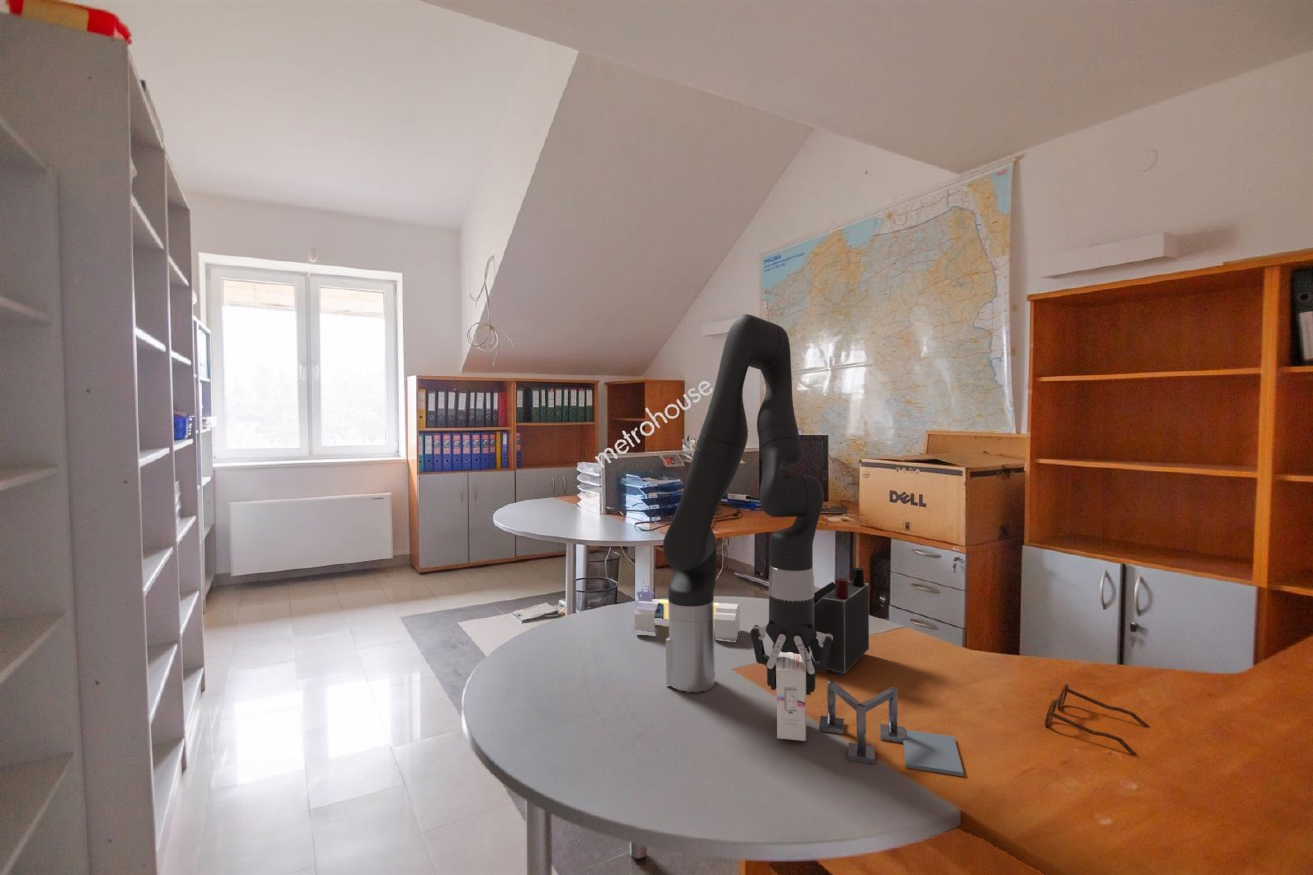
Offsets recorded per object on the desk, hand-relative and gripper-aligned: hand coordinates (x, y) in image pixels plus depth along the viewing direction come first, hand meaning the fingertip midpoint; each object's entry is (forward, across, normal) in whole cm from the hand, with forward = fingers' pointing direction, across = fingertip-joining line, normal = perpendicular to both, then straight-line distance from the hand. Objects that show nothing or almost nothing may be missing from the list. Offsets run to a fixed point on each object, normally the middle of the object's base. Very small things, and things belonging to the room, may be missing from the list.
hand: (791, 690), depth 106 cm
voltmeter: (+8, +2, +35) cm, 36 cm away
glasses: (+8, +49, +18) cm, 53 cm away
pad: (+7, +22, 0) cm, 23 cm away
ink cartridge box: (+7, 0, 0) cm, 7 cm away
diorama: (+8, -31, +42) cm, 53 cm away
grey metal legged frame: (+7, +11, 0) cm, 14 cm away
